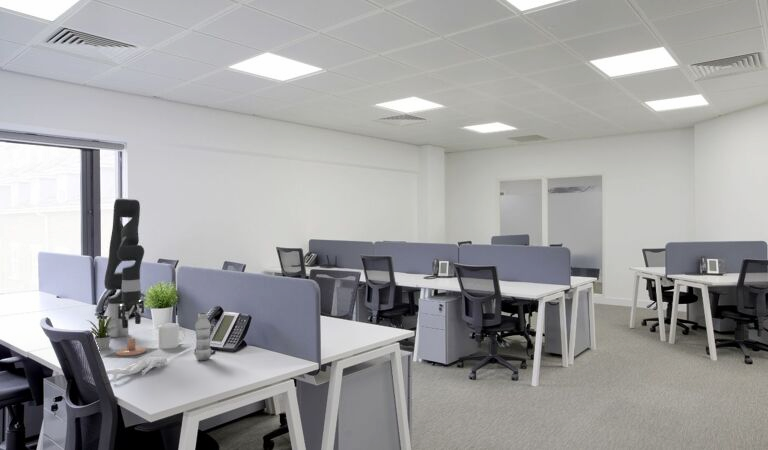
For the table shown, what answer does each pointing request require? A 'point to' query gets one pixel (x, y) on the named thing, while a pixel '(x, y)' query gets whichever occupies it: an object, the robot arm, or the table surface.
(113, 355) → the mat
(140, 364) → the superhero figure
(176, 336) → the mug
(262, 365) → the table surface
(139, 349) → the lid
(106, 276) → the robot arm
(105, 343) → the house plant
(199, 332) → the plastic bottle
